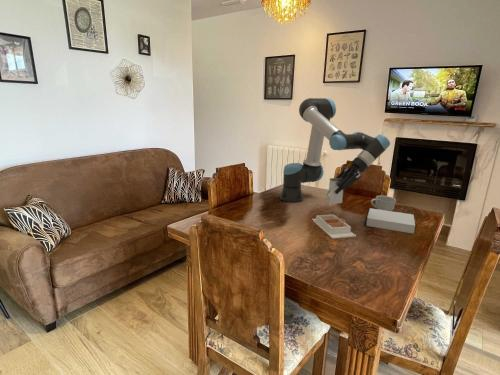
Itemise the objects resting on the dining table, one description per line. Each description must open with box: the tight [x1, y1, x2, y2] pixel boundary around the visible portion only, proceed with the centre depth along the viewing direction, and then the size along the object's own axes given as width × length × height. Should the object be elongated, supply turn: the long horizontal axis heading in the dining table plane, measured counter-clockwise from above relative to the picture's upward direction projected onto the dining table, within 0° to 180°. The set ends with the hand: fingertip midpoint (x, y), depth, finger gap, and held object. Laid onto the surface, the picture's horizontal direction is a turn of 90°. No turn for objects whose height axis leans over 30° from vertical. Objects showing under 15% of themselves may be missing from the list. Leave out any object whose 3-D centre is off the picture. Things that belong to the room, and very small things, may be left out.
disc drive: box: [364, 207, 416, 235], centre depth 154 cm, size 18×22×5 cm
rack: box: [311, 213, 357, 240], centre depth 148 cm, size 12×24×4 cm, turn 12°
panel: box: [327, 177, 344, 205], centre depth 144 cm, size 6×3×12 cm, turn 102°
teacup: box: [370, 194, 397, 212], centre depth 173 cm, size 14×11×8 cm
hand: (328, 196), depth 144 cm, fingers closed on panel, 3 cm apart
